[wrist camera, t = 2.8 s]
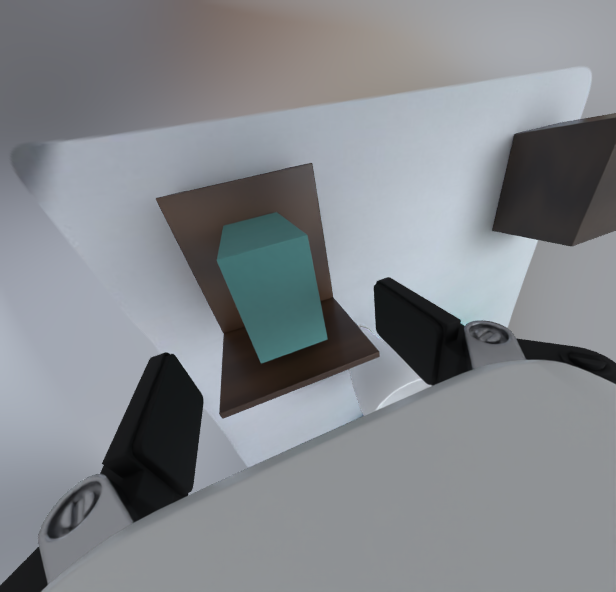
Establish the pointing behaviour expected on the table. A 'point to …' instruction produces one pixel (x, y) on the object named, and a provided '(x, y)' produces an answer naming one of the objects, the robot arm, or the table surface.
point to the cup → (383, 378)
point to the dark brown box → (561, 182)
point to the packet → (272, 284)
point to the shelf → (203, 262)
